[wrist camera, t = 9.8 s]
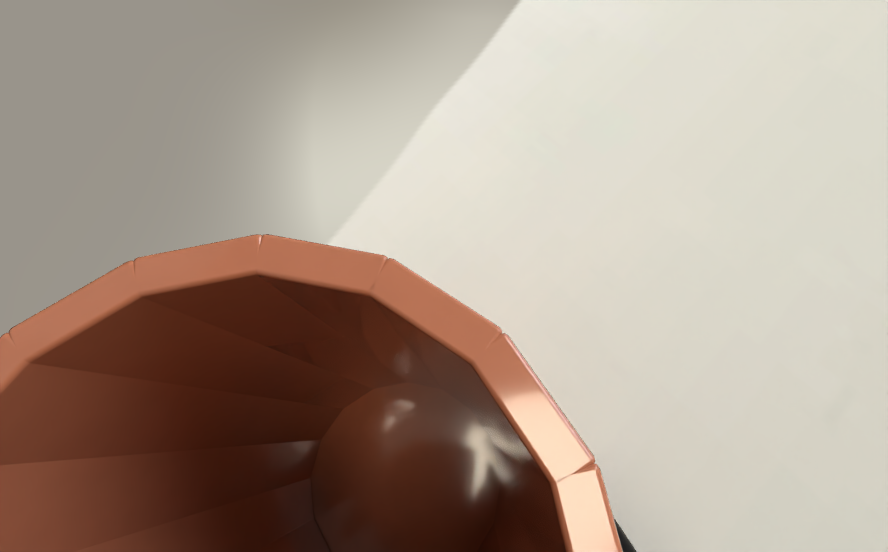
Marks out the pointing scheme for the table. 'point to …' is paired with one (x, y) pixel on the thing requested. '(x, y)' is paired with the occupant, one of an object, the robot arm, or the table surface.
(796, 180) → the table surface
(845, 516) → the table surface
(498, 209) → the table surface
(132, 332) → the pencil cup
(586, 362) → the table surface
